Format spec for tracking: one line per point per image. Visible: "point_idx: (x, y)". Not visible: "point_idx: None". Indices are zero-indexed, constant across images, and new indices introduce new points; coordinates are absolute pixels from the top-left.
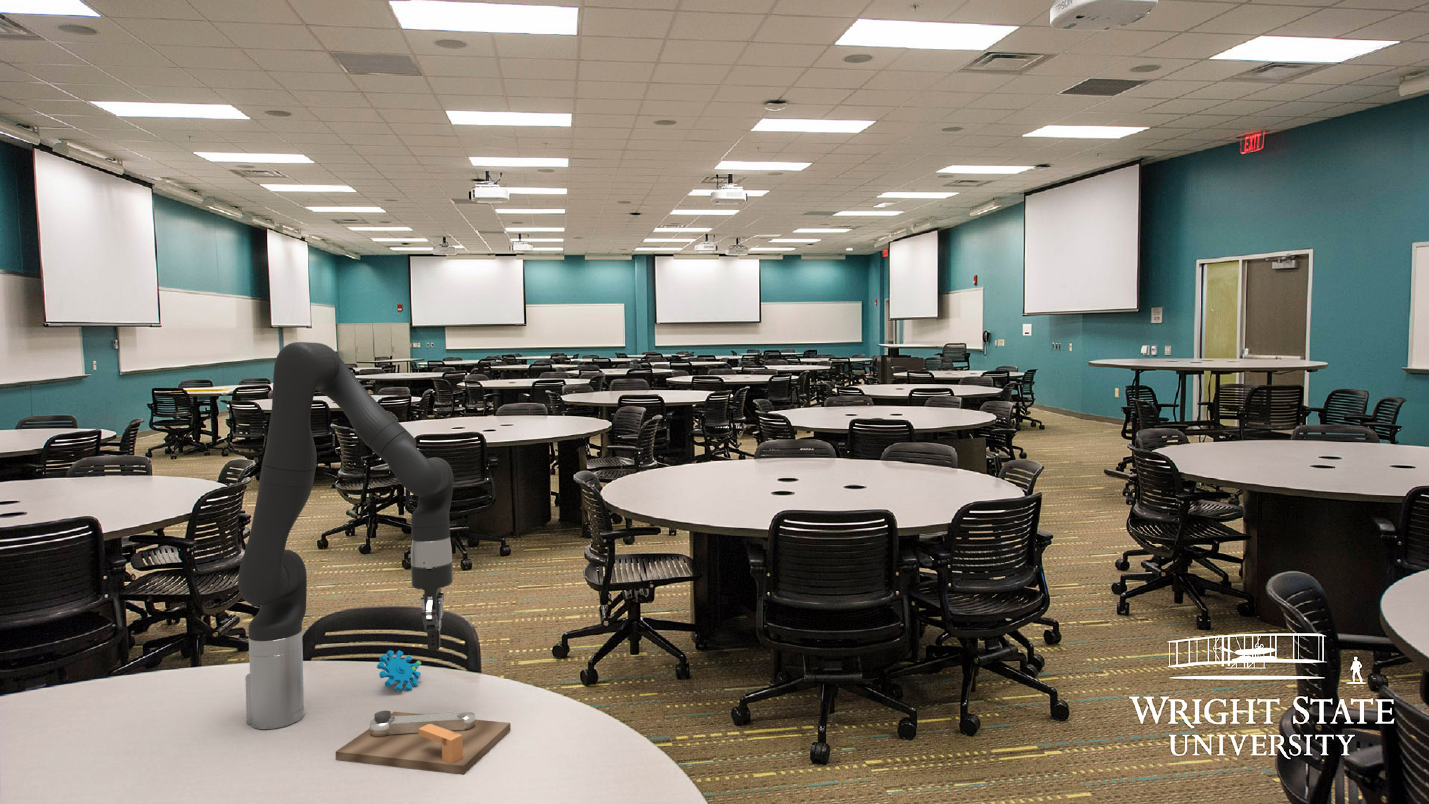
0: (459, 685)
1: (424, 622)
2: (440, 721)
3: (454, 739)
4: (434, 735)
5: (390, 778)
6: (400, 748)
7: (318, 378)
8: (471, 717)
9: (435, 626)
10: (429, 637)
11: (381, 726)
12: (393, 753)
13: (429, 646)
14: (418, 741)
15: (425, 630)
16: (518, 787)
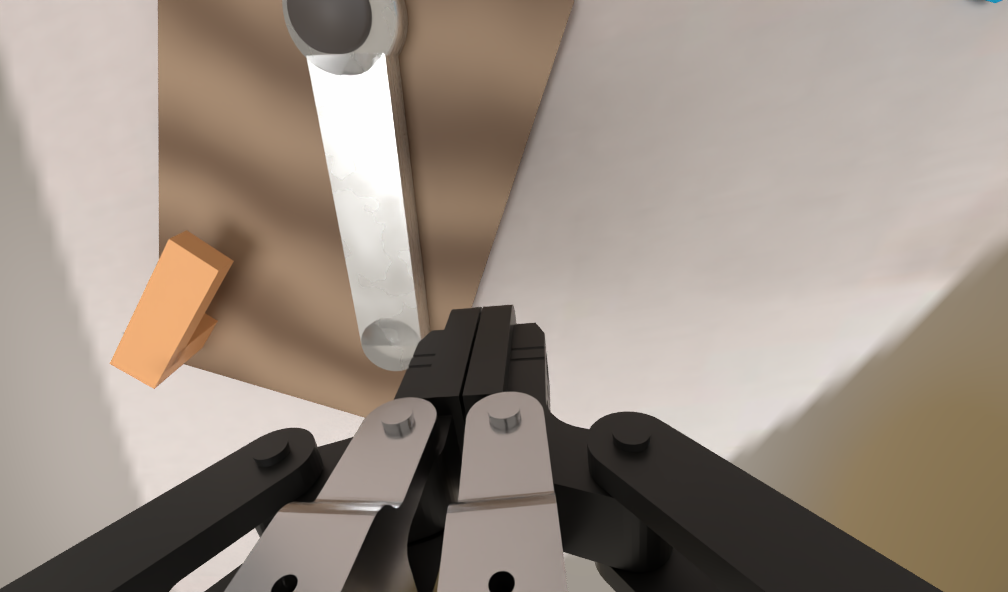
0: (886, 210)
1: (41, 584)
2: (347, 269)
3: (123, 370)
4: (140, 304)
5: (109, 147)
6: (229, 142)
7: None
8: (375, 364)
9: (220, 585)
10: (397, 393)
11: (289, 26)
12: (188, 128)
13: (420, 342)
14: (286, 194)
15: (248, 453)
16: (148, 456)
